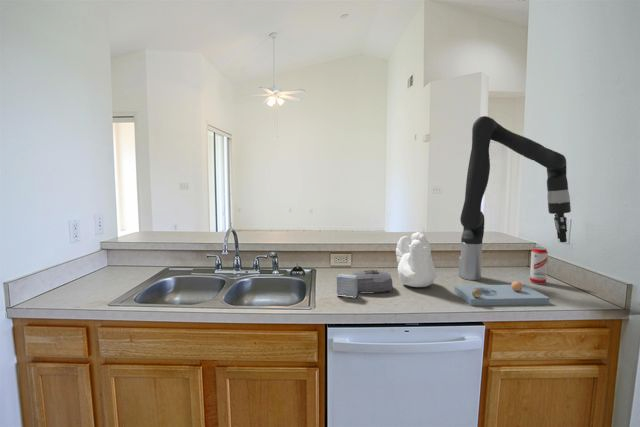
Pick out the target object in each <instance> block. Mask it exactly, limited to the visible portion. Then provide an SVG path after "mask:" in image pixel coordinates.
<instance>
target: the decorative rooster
mask: <svg viewBox="0 0 640 427" xmlns="http://www.w3.org/2000/svg"><path fill="white" fill-rule="evenodd" d="M395 255H396V262H397V263H398V265H397V272H398V277H399V280H400V282H401V284H403V285H406V286H408V287H413V288H425V287H426V288H427V287H428V286H431V285H432V284H433V283H434V282H435V280H436V279H437V278H438V274H437V270H436V269H435V265H434V261H433V259H432V248H431V244H430V241H429V240H428V239H427V237H426V236H425V235H424V234H423V233H422V232H420V231H417V232H413V233H412V234H411V236H410V237H409V236H408V235H404V236H401V237H400V238H399V240H398V241H397V243H396V248H395Z"/></svg>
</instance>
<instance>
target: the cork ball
mask: <svg viewBox="0 0 640 427" xmlns="http://www.w3.org/2000/svg"><path fill="white" fill-rule="evenodd" d="M472 295H473V296H474V297H475V298H479V297H481V295H482V292H481V290H480V289H473V290H472Z"/></svg>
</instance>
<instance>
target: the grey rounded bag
mask: <svg viewBox="0 0 640 427" xmlns="http://www.w3.org/2000/svg"><path fill="white" fill-rule="evenodd" d="M350 275H357V293H360V292H384V293H386V292H385V291H389V292H392V290H393V286H394V285H393V279H392V276H391V274H390V273H388V272H387V271H381V270H378V269H375V270H374V269H371V270H361V271H357V272H354V273H353V272H352V273H351V274H350Z"/></svg>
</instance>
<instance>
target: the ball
mask: <svg viewBox="0 0 640 427" xmlns="http://www.w3.org/2000/svg"><path fill="white" fill-rule="evenodd" d="M510 285H511V288H512V289H513V290H514V291H521V290H522V283H521V282H520V281H517V280H516V281H512V282H511V284H510Z"/></svg>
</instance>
